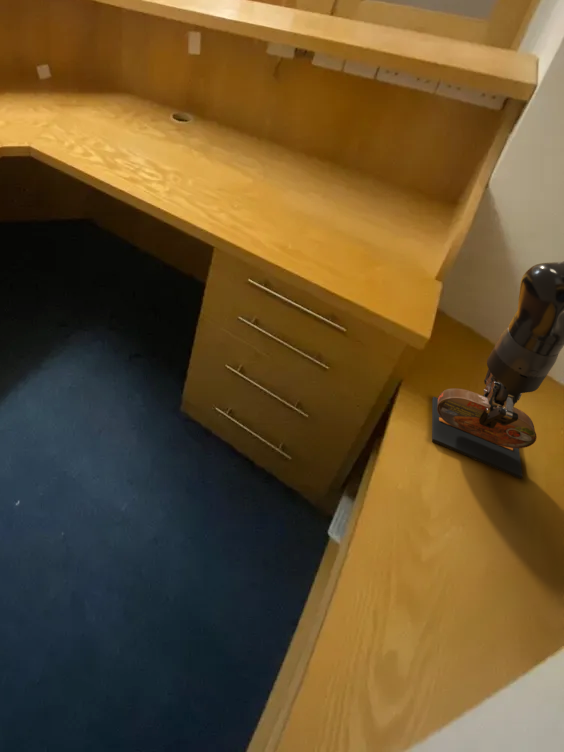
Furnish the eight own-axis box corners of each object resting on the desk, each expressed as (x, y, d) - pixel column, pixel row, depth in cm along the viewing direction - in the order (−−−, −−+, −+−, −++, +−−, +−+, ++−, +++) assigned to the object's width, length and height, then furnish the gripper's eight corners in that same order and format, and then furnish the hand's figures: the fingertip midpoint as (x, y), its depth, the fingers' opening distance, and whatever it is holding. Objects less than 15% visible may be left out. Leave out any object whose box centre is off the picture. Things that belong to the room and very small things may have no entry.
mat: (514, 430, 98) (516, 428, 97) (520, 478, 90) (523, 476, 90) (432, 398, 104) (433, 396, 103) (431, 441, 96) (433, 438, 96)
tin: (431, 417, 98) (445, 393, 93) (431, 403, 100) (445, 379, 96) (525, 455, 92) (545, 431, 87) (523, 440, 94) (543, 415, 89)
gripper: (492, 319, 92) (459, 379, 101) (500, 379, 81) (463, 440, 90) (543, 335, 89) (505, 395, 98) (557, 399, 78) (513, 461, 87)
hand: (485, 417), depth 94 cm, fingers closed on tin, 2 cm apart
